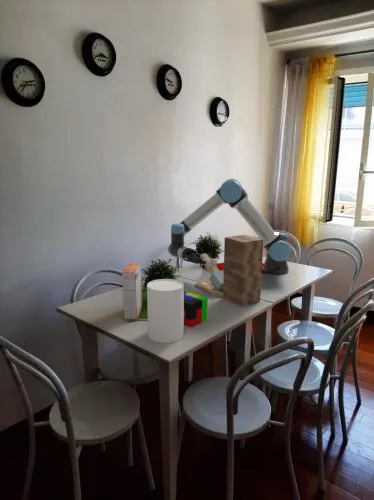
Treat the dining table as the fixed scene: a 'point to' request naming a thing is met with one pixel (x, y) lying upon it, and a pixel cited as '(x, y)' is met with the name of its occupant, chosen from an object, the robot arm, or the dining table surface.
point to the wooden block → (242, 269)
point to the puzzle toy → (194, 309)
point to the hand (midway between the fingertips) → (213, 263)
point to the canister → (165, 310)
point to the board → (210, 288)
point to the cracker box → (132, 291)
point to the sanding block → (214, 273)
